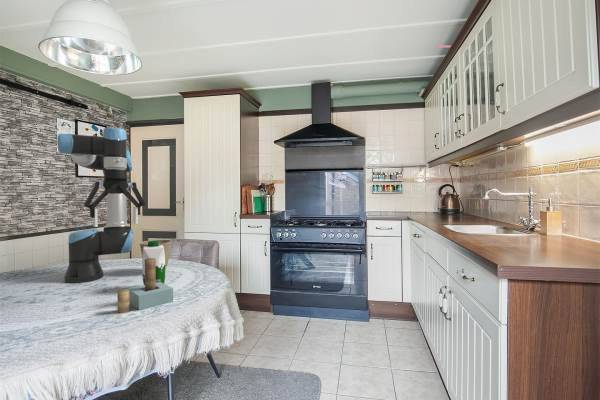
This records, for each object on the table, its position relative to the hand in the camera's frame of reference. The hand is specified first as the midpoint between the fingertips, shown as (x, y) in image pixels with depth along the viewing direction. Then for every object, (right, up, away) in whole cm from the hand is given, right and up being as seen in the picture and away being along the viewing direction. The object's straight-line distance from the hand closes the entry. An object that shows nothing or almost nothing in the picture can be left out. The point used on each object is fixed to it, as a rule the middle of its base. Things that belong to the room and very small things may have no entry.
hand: (116, 225), depth 117 cm
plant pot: (-4, -28, +41) cm, 49 cm away
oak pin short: (+9, -29, -10) cm, 32 cm away
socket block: (+13, -29, -1) cm, 32 cm away
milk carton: (+7, -29, +14) cm, 33 cm away
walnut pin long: (+13, -29, -1) cm, 32 cm away
